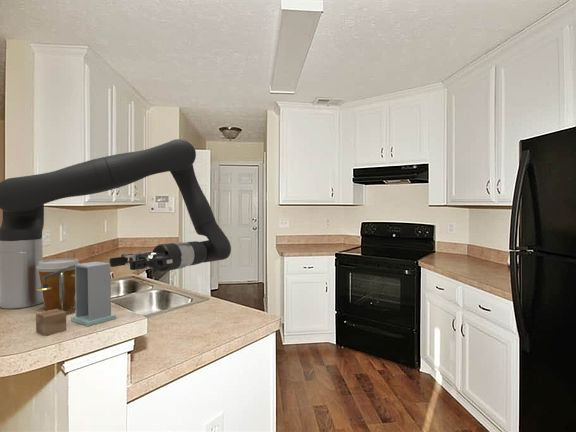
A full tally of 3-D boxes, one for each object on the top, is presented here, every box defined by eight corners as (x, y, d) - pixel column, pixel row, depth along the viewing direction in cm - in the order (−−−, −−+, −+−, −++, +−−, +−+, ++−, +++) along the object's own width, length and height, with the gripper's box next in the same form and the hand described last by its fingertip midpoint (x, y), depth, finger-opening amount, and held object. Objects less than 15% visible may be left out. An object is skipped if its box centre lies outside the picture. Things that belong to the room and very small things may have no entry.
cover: (75, 316, 81) (74, 264, 81) (97, 311, 85) (96, 261, 85) (89, 321, 78) (88, 266, 78) (111, 315, 82) (110, 263, 82)
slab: (71, 320, 81) (70, 317, 81) (99, 313, 86) (98, 310, 86) (87, 326, 77) (87, 322, 77) (116, 318, 83) (116, 314, 83)
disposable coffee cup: (72, 300, 99) (72, 256, 98) (87, 306, 93) (86, 260, 92) (31, 307, 91) (31, 261, 91) (44, 314, 85) (43, 265, 85)
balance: (33, 317, 83) (32, 268, 83) (80, 306, 92) (79, 262, 92) (41, 320, 81) (40, 269, 81) (88, 309, 90) (88, 263, 90)
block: (36, 332, 74) (35, 313, 74) (57, 327, 77) (56, 308, 77) (45, 336, 72) (44, 316, 71) (66, 330, 75) (66, 311, 75)
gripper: (157, 241, 104) (103, 247, 91) (191, 244, 97) (138, 250, 83) (157, 267, 105) (104, 276, 91) (191, 271, 97) (138, 282, 83)
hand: (120, 264), depth 87 cm, fingers open, 8 cm apart
